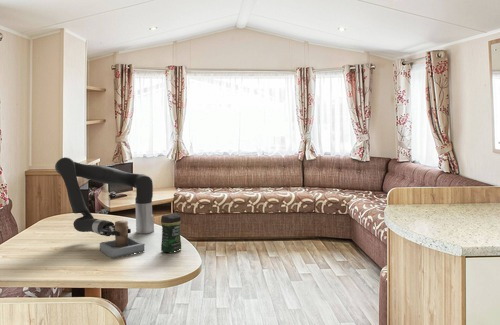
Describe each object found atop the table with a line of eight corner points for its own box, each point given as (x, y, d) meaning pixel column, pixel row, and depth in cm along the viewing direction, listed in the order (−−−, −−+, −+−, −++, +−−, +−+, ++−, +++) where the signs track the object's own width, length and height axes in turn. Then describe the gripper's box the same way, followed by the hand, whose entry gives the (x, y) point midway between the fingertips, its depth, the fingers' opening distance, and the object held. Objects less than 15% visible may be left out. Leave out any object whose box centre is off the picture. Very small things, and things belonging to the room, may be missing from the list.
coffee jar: (169, 254, 202) (168, 216, 200) (158, 251, 206) (157, 214, 205) (184, 250, 209) (183, 213, 207) (173, 247, 214) (173, 211, 212)
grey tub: (130, 244, 218) (130, 237, 218) (144, 251, 206) (144, 243, 206) (100, 250, 208) (99, 242, 208) (112, 258, 196) (112, 250, 195)
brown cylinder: (125, 243, 211) (124, 219, 210) (130, 246, 206) (129, 222, 205) (113, 245, 207) (112, 221, 206) (118, 248, 203) (117, 224, 201)
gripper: (90, 223, 208) (112, 228, 198) (114, 217, 220) (136, 222, 210) (91, 237, 209) (112, 243, 199) (115, 231, 220) (136, 236, 211)
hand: (124, 232), depth 205 cm, fingers closed on brown cylinder, 6 cm apart
